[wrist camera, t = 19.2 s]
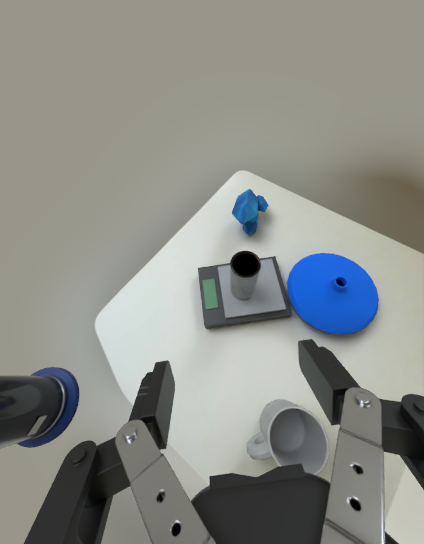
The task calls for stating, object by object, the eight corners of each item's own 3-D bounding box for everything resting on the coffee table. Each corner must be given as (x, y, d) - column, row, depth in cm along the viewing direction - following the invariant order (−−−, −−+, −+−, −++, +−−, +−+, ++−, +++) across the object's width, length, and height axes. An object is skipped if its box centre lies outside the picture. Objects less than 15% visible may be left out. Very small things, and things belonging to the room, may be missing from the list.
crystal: (271, 180, 48) (270, 214, 40) (265, 213, 54) (263, 247, 47) (237, 178, 49) (230, 211, 41) (235, 210, 56) (229, 243, 48)
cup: (315, 441, 33) (342, 463, 25) (256, 470, 33) (263, 502, 24) (291, 391, 36) (307, 396, 28) (236, 416, 36) (237, 429, 28)
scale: (205, 328, 42) (204, 325, 39) (199, 272, 47) (197, 266, 44) (288, 316, 42) (293, 312, 39) (273, 261, 47) (275, 254, 44)
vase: (279, 325, 41) (287, 316, 35) (288, 254, 47) (296, 235, 41) (370, 346, 38) (398, 341, 32) (367, 267, 44) (390, 249, 38)
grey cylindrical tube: (259, 288, 41) (267, 264, 32) (242, 304, 40) (245, 283, 31) (242, 273, 43) (245, 245, 33) (225, 288, 42) (223, 263, 32)
